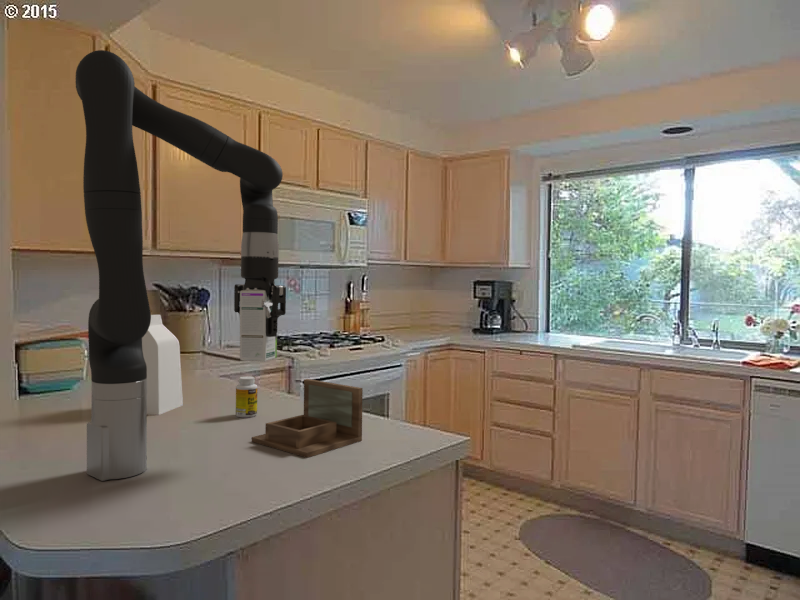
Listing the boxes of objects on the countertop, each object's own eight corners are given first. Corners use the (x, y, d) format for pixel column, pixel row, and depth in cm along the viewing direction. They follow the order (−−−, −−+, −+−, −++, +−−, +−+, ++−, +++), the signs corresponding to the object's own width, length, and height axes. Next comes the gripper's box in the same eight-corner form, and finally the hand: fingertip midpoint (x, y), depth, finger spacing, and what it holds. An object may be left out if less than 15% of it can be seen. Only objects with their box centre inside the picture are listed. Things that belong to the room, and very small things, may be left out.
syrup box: (265, 361, 115) (266, 289, 115) (238, 360, 116) (239, 289, 116) (277, 358, 121) (278, 289, 120) (251, 357, 122) (252, 289, 122)
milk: (158, 414, 152) (159, 316, 151) (119, 412, 154) (119, 315, 153) (182, 405, 164) (183, 314, 163) (145, 403, 165) (146, 313, 165)
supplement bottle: (248, 419, 148) (248, 379, 148) (231, 416, 151) (231, 378, 150) (261, 414, 154) (261, 376, 153) (244, 412, 156) (245, 375, 155)
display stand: (307, 457, 117) (307, 399, 116) (251, 441, 128) (252, 388, 127) (361, 440, 130) (362, 388, 130) (307, 427, 141) (307, 378, 141)
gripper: (223, 255, 119) (222, 333, 120) (267, 254, 111) (266, 338, 111) (252, 257, 125) (251, 331, 126) (297, 256, 117) (296, 336, 117)
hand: (258, 335), depth 119 cm, fingers closed on syrup box, 7 cm apart
